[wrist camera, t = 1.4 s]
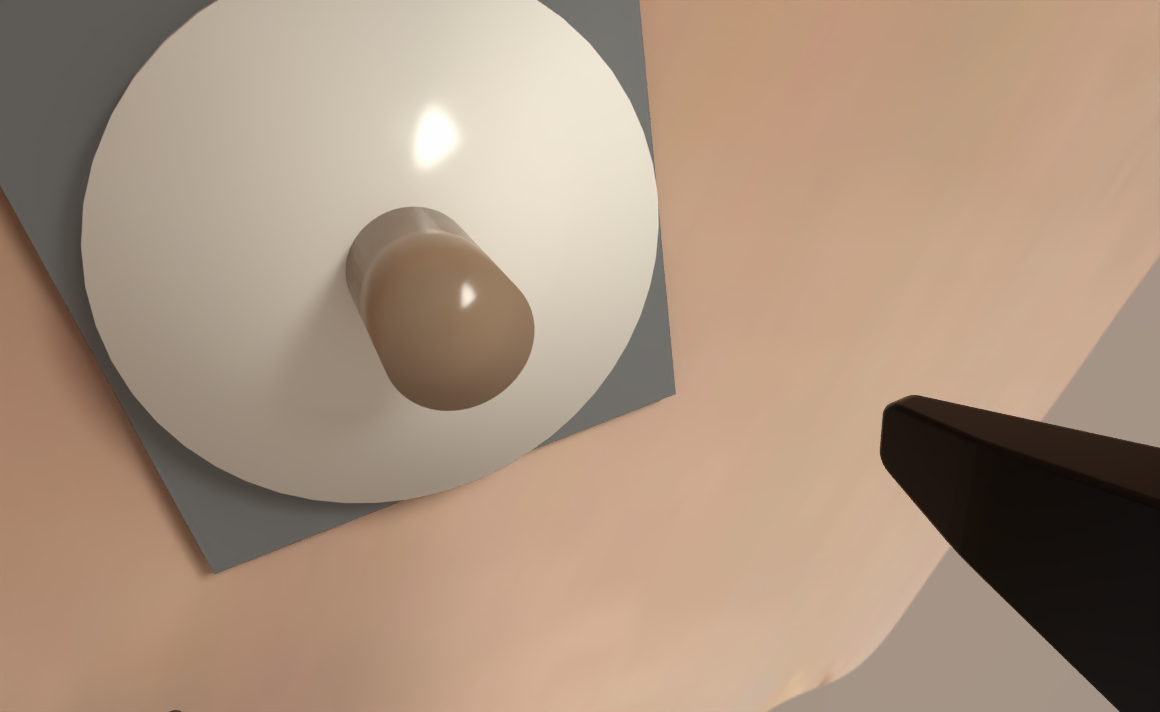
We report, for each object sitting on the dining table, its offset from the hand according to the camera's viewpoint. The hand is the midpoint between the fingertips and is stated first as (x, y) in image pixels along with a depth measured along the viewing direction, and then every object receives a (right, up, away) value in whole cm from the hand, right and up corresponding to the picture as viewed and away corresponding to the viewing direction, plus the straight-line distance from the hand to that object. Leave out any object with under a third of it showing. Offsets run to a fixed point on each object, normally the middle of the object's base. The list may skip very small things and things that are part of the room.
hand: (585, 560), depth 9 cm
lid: (-4, +5, +10) cm, 12 cm away
